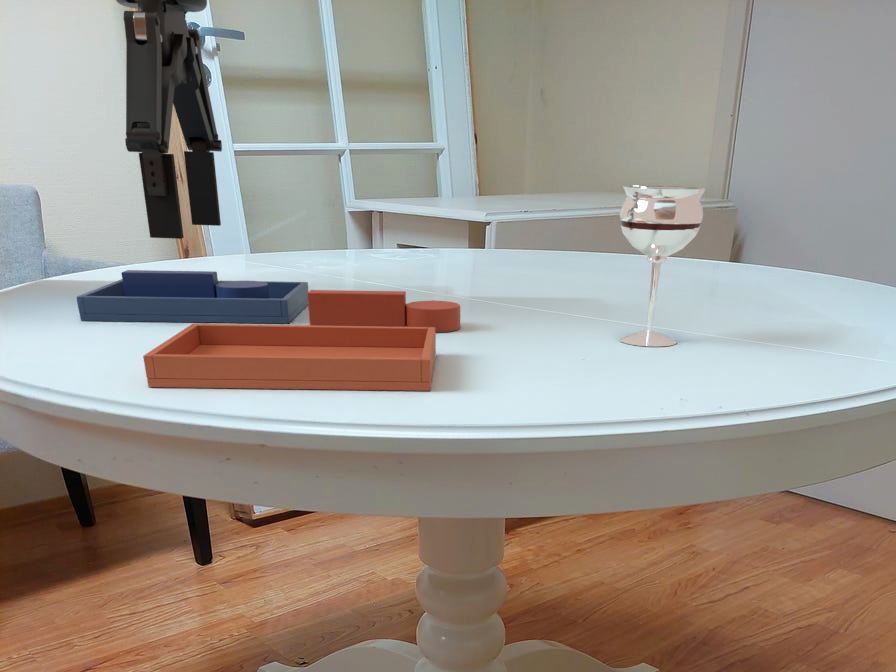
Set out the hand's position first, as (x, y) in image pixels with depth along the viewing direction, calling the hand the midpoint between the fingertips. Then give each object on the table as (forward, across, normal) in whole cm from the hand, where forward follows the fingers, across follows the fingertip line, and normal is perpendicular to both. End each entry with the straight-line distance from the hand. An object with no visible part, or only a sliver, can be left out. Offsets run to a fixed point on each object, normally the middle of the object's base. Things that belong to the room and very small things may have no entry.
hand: (188, 231), depth 84 cm
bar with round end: (+7, -7, -20) cm, 22 cm away
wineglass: (+7, -12, -42) cm, 45 cm away
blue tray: (+7, 0, 0) cm, 7 cm away
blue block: (+7, 0, -1) cm, 7 cm away
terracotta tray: (+7, -25, -14) cm, 30 cm away
